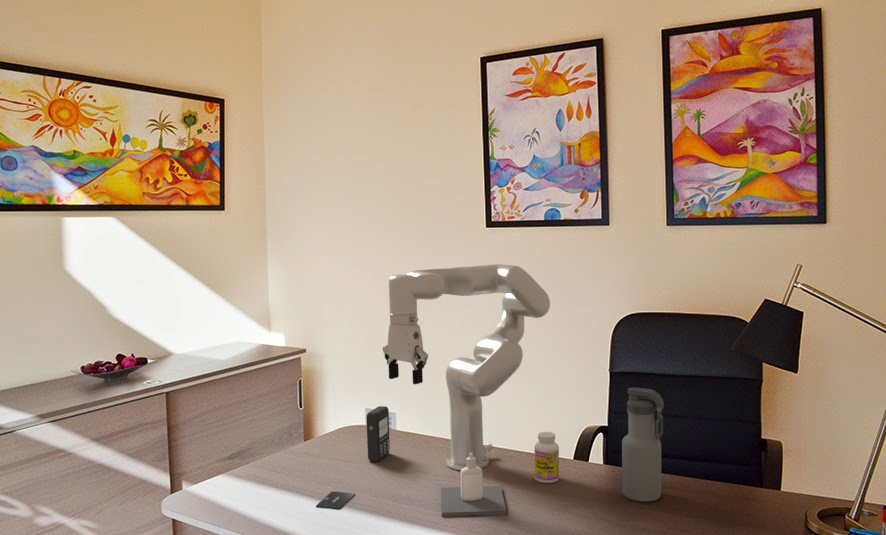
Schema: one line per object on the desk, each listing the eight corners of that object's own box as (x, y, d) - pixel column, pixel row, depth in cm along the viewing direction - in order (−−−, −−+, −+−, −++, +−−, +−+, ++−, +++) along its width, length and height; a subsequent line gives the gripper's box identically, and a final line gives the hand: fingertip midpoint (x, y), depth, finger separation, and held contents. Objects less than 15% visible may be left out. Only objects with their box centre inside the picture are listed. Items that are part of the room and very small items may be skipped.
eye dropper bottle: (480, 502, 187) (479, 456, 186) (459, 500, 189) (458, 455, 188) (484, 496, 191) (483, 451, 190) (463, 494, 193) (462, 449, 192)
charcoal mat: (441, 491, 198) (440, 487, 198) (500, 489, 198) (500, 485, 198) (441, 516, 182) (441, 512, 182) (506, 514, 182) (506, 510, 182)
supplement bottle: (532, 482, 202) (531, 436, 201) (538, 473, 209) (537, 429, 207) (556, 485, 200) (555, 439, 199) (561, 476, 206) (561, 431, 205)
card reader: (378, 463, 221) (377, 414, 219) (366, 461, 222) (364, 413, 221) (391, 453, 229) (390, 406, 228) (379, 452, 231) (378, 405, 229)
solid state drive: (315, 508, 190) (315, 505, 190) (331, 493, 199) (331, 491, 199) (340, 511, 188) (340, 508, 188) (355, 495, 197) (355, 493, 197)
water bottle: (666, 492, 193) (666, 387, 191) (658, 506, 185) (658, 396, 182) (627, 486, 198) (627, 383, 196) (618, 499, 190) (617, 392, 187)
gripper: (435, 320, 199) (437, 382, 201) (392, 315, 211) (394, 373, 213) (415, 324, 194) (417, 388, 195) (372, 318, 206) (374, 378, 208)
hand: (405, 380), depth 204 cm, fingers open, 9 cm apart
